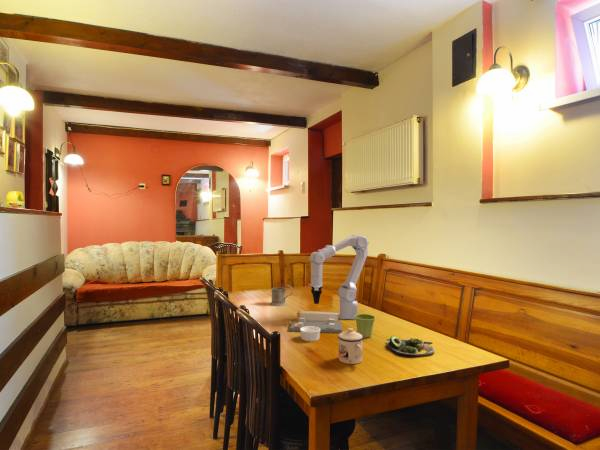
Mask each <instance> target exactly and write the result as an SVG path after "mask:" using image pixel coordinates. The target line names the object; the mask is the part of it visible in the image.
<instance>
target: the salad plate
mask: <svg viewBox="0 0 600 450" xmlns="http://www.w3.org/2000/svg"><path fill="white" fill-rule="evenodd" d="M433 343H434V342H432V341H423V338H422V339H419V338H418V337H417V338H412V337H410V338H409V339H408V338H407V339H401V338H400V337H398V336H397V335H391V336H390V338H387V339H386V343H385V344H386V347H387V349H388V350H390V352H392V353H393V354H395V355H397V356H400V357H405V358H417V357H424V356H428V355H429V356H430V355H432V354H433V353H435V351H436V350H435V348H433V347H431V346H430V345H433ZM418 350H419V351H424V350H425V353H419V351H418ZM426 351H427V352H426Z"/></svg>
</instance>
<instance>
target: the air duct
mask: <svg viewBox="0 0 600 450" xmlns="http://www.w3.org/2000/svg"><path fill="white" fill-rule="evenodd" d="M299 318H305V321H311V322H329V319H334V322H339V311H314V310H313V311H311V310H306V311H305V310H297V311H296V321H299Z"/></svg>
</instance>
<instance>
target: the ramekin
mask: <svg viewBox="0 0 600 450" xmlns="http://www.w3.org/2000/svg"><path fill="white" fill-rule="evenodd" d="M300 331H301V332H300V339H301V340H302V341H304V342H305V341H306V342H316V341H318V340H319V339H320V334H321V332H320V328H319V327H315V326H305V327H302V328H300Z"/></svg>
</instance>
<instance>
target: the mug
mask: <svg viewBox="0 0 600 450" xmlns="http://www.w3.org/2000/svg"><path fill="white" fill-rule="evenodd" d="M287 288H290V289H291V293H290V294H288V295H286V292H287ZM293 292H294V290H293V287H292V286H291V285H289V284H287V285H286V287H280V286H278V287H271V303H270V304H269V306H273V307H283V306H286V305H287V303H286V299H287V298H288V297H289V296H292V294H294V293H293Z"/></svg>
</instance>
